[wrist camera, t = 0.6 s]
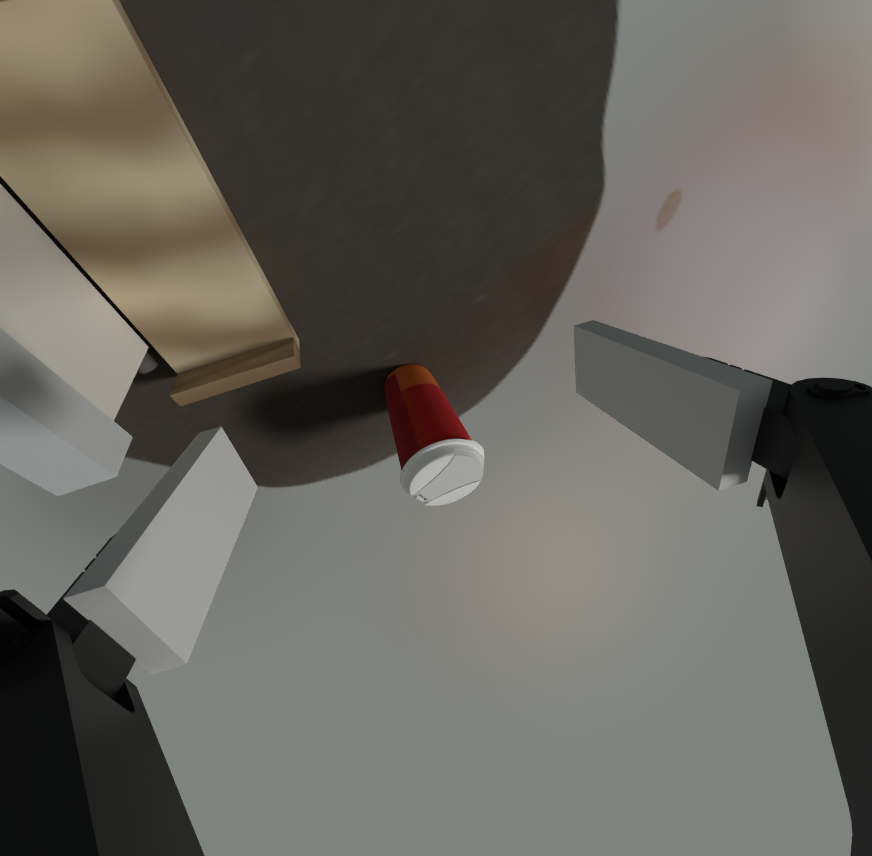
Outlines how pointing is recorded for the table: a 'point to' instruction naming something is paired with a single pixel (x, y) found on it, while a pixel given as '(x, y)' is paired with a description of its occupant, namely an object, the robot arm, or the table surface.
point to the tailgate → (58, 363)
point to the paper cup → (430, 439)
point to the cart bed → (133, 195)
